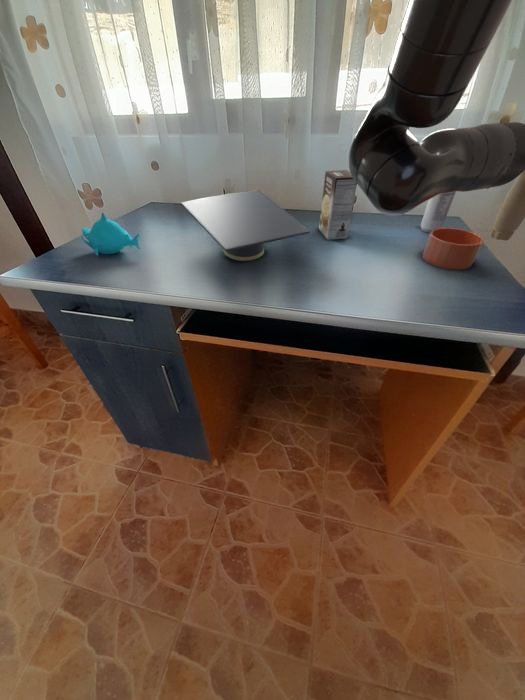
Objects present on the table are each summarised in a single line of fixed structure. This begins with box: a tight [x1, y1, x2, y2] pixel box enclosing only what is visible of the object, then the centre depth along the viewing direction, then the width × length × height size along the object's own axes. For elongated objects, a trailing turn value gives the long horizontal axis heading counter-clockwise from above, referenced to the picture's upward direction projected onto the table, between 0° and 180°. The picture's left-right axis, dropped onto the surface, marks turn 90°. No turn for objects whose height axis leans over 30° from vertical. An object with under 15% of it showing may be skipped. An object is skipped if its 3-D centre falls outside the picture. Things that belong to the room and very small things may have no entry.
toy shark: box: [81, 211, 141, 256], centre depth 76 cm, size 10×18×11 cm, turn 72°
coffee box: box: [318, 169, 358, 240], centre depth 84 cm, size 9×6×16 cm
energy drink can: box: [419, 191, 457, 234], centre depth 86 cm, size 6×6×15 cm
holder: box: [421, 227, 484, 270], centre depth 73 cm, size 11×11×6 cm
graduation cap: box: [180, 190, 311, 262], centre depth 77 cm, size 28×23×10 cm
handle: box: [489, 173, 525, 241], centre depth 48 cm, size 5×6×15 cm
